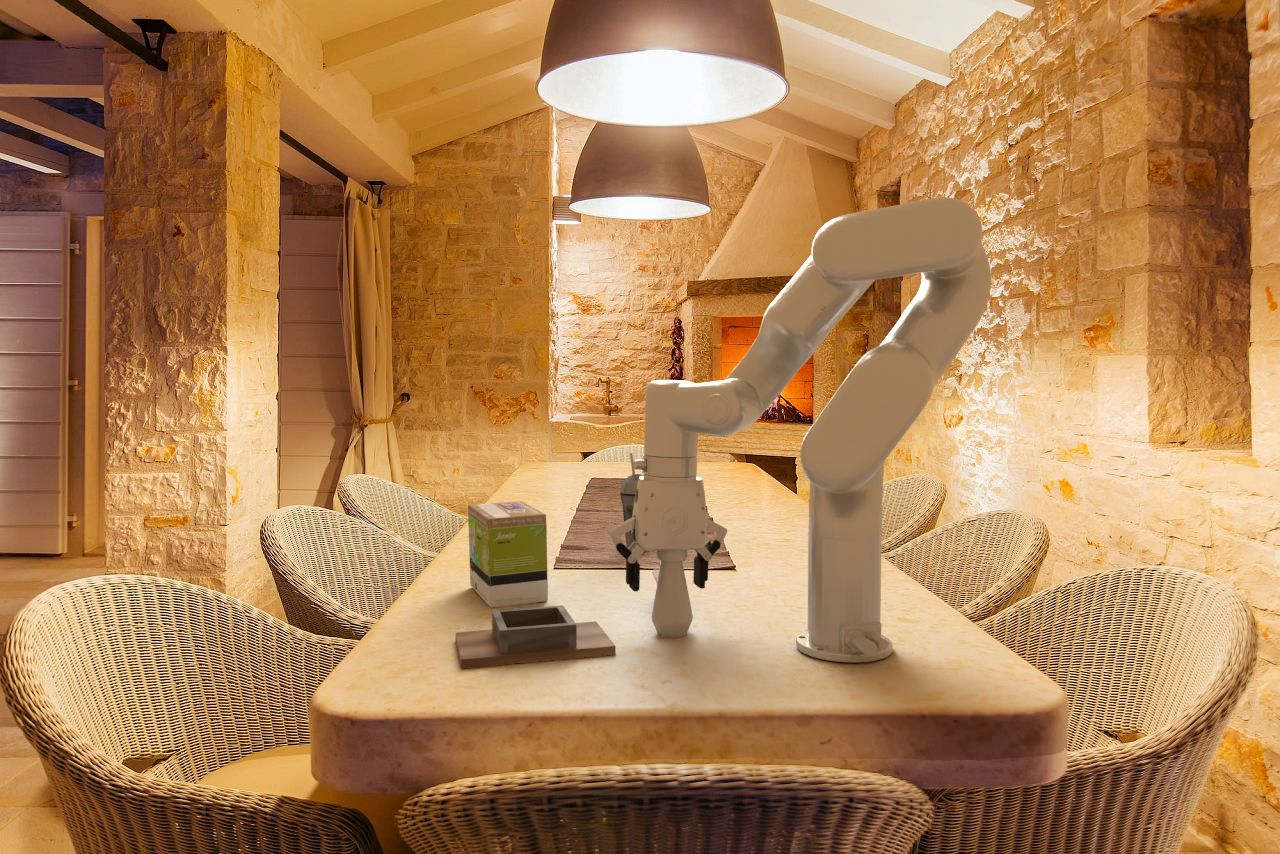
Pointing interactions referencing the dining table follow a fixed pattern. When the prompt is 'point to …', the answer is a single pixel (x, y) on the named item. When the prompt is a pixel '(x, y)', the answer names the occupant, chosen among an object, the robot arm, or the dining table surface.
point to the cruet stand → (532, 638)
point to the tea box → (508, 553)
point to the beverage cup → (629, 498)
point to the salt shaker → (672, 596)
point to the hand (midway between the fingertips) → (666, 587)
